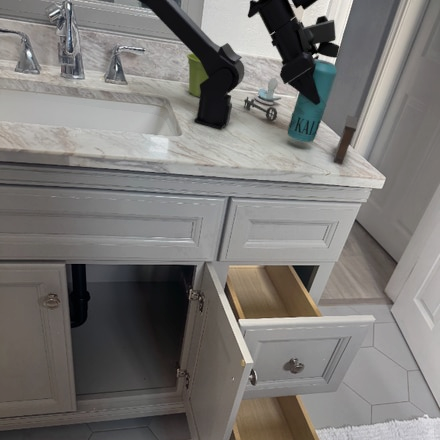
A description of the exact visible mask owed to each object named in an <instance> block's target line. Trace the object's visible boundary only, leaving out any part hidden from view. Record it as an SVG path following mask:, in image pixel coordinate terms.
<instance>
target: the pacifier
mask: <svg viewBox="0 0 440 440" xmlns="http://www.w3.org/2000/svg"><path fill="white" fill-rule="evenodd" d="M278 83H279V82H278V79H277V78H276V77H271V78H270V79H269V81H268V82H267V90H266V89H265V88H259V89H258V91H257V93H258V94H257V95H255V96H254V100H256V101H257V102H259V103H262V104H265V105H268V106H272V105H274V102H275V101H280V100H281V99H282V97H281V96H279V97H274V93H275V90H276V89H277V87H278Z"/></svg>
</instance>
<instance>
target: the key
mask: <svg viewBox="0 0 440 440" xmlns="http://www.w3.org/2000/svg"><path fill="white" fill-rule="evenodd" d="M243 102H244V105H243V108H244V109H246V110H247V111H250V110H251V108H253V109H254V108H255V109H258V110H259V111H261V112H264V113H265V117H266V118H265V119H266V120H267V121H269V122H275V121H276V120H277V118H278V111H277V108H276V107H273V106H269V107H268V108H266V109H265V108H264V107H262V106H260V105H258V104H256V103H255V99H253V98H251V99H250V100H249V96H246V98H244V100H243Z"/></svg>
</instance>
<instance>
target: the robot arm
mask: <svg viewBox="0 0 440 440" xmlns="http://www.w3.org/2000/svg"><path fill="white" fill-rule="evenodd" d="M318 1H319V0H291V3H292V4H293V6H294V8H295V9H298V8H300V7H301V8H302V10H304V11H306V10H307V9H308V8H309V7H311V6H312V5H314V4H315V3H316V2H318ZM137 2H140V3H141V4H143V5H144V6H146V7H148V9H150V11H151V12H152V13H153V14H154V15H156V17H157V18H158V19H159V20H160V21H161V22H162V23H163V24H164V25H165V26H166V28H168V29H169V30H170V31H171V32H172V33H173V34H174V35H175V37H177V38H178V39H179V41H181V42H182V43H183V45H184V46H185V47H186V48H187V49H188V50H189V51H190V52H191V53H193V54H194V55H195V56H196V57H197V58H198V59H199V60H200V62H201V64H202V66H203V68H204V70H205V72H206V74H207V76H208V77H209V78H208V79H206V80H205V81H204V82H202V83H201V84H200V91H201V93H200V97H199V101H198V107H197V115H196V117H195V118H194V119H193V122H195V123H198V124H201V125H205V126H209V127H211V128H215V129H217V130H222V129H223V128H224V127H225V126H226V125H228V124H229V122H230V119H231V114H232V108H233V104H232V103H231V102H232V101H231V100H232V95H231V94H229V93H231V92H232V91H233V90H234V89H236V88H237V87H238V86H239V85H240V84H241V83H242V81H243V80H244V77H245V65H244V63H243V62H242V60H241V59H242V56H241V55H239V54H238V53H236V52H235V51H234V49H233V48H232V46H231V45H230V44H229V43H228V42H226V43H225V44H223V45H218V44H217V43H215V42H214V41H213V40H212V39H211V37H209V36H208V35H207V34H206V33H205V32H204V31H203V30H202V29H201V28H200V26H198V24H197V23H196V22H195V21H194V20H193V19H192V18H191V17H190V16H189V15H188V14H187V12H185V11H184V9H182V8H181V6H180V5H179V4H178V3H177V2H176V1H175V0H137ZM291 3H290V0H250V1H249V10H248V13H247V18H249V19H251V18H253V17H254V16H256V15H257V14H258V15H259V17H260V18H261V20H262V22H263V25H264V27H265V28H266V30H267V33H268V35H269V36H270V38H271V41H270V42H271V44H272V48H274V47H275V48H276V51H277V52H278V55H279V57H280V58H281V64H282V66H281V70H280V73H279V77H280V78H281V80H282V82H283V84H284V85H286V84H287V85H288V86H290V87H292V88H293V89H294V90H296V91H297V92H298V93H299V92H300V93H301V94H302V95H304V96H305V97H306V98H307V99H309V100H310V101H311V102H312V103H314V104H315V105H318V104H319V103H320V102H321V101H320V97H319V94H318V90H317V87H316V83H315V80H314V76H313V74H314V71H315V67H316V63H315V61H314V59H320V58H319V57H320V54H318V53H317V49H318V46H317V45H319V44H320V43H322V42H331V43H332V42H335V41H336V39H337V38H336V27H335V26H336V24H335V19H330V20H329V19H328V17H327V16H326V15H321V16H317V18H316V21H315V24H311V25H308V26H307V25H306V26H305V25H304V24H303V23H304V22H303V21H300V20H299V19H298V17H297V15H296V12H295V11H294V9H293V7H292V5H291ZM317 54H318V55H317ZM314 55H316V56H315V57H314Z"/></svg>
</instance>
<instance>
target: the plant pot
mask: <svg viewBox="0 0 440 440" xmlns="http://www.w3.org/2000/svg"><path fill="white" fill-rule="evenodd" d="M186 58H187V63H188V93H189V94H191V95H192V96H194V97H198V98H200V93H201V91H200V84H201V83H202V82H204V81H205V80H206V79H208V78H209V77H208V76H207V74H206V72H205V70H204V68H203V66H202V64H201V62H200V60H199V59H198V58H197V57H196V56H195V55H194V54H193V53H192V52H191V53H187V54H186Z"/></svg>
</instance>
